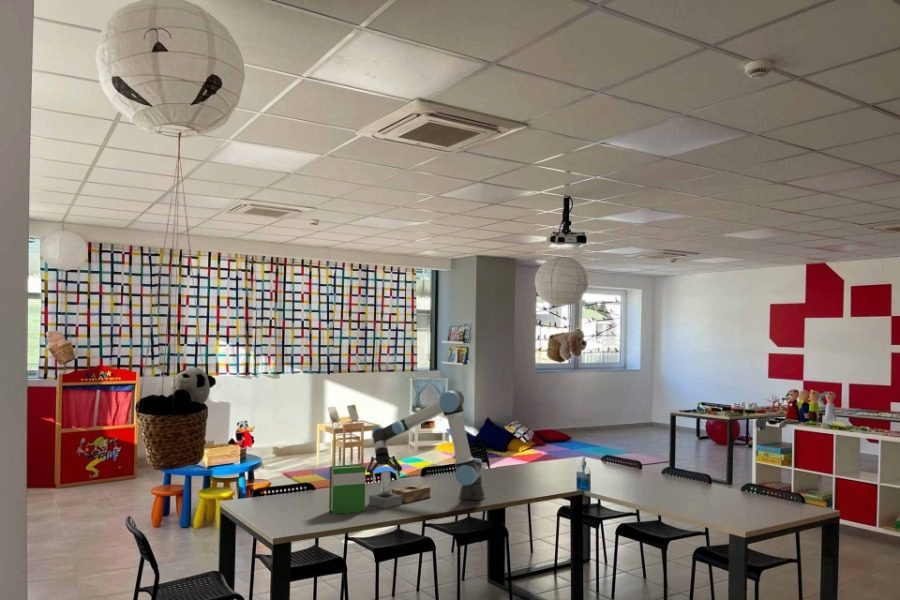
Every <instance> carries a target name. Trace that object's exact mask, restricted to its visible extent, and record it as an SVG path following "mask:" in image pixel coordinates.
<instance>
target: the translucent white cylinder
mask: <svg viewBox="0 0 900 600" xmlns="http://www.w3.org/2000/svg"><path fill="white" fill-rule="evenodd" d="M380 473H381V474H380V476H381V477H380V478H381V479H380V482H381V484H380V493H381V497H384V498H387V497H390V493H391V472H390V471H381V472H380Z"/></svg>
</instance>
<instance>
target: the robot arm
mask: <svg viewBox="0 0 900 600" xmlns="http://www.w3.org/2000/svg"><path fill="white" fill-rule="evenodd" d="M464 397H465V396H464V395H463V393H462V392H461V391H460V390H459V389H458V390H457V389H450V390H448V391H445V392H444V393H442V395H440V398H439V400H438V401H434V403H432V404H430V405H428V406H426V407H424V408H422V409H420V410H418V411H416V412H415V413H412V414H410V415H408V416H406V417H404V418H402V419H400V420H397V421H395V422H393V423H391V424H388V425H386V426H385V427H383V426H381V425H380V426H374V428H373V429H372V431H371V433H372V435H371V436H372V439H373V446H374V455H375V457H373V456H371V458H370V462H369V465H368V466H367V469H366V474H367V473H369V475H370V478H371V479H372V484H376V473H375V470H376V469H377V468H378V466H389V467H390V468H391V469H392V470H394V471H395V477H396V482H397V483H399V482H400V475H401V471H402V470H403V467H402V465H401V464H400V462H399V461H398V460H397V459H396V457H395V455H392V456H390V455H389V450H388V444H387V441H389V440H390V439H393V438H395V437H398V436H400V435H401V434H404V433H406V432H407V431H411V430H412V429H414V428H415V427H417V426H419V425H421V424H424V423H426V422H427V421H429V420H431V419H434V418H436V417H437V416H439V415H441V414H443V416H444V417H445V418H446V419H447V422H448V427H449V432H450V436H451V440H452V444H453V448H454V453H455V457H456V458H455V459H456V460H455V461H454V465H455V479H456V480H457V482H458V483H459V484H460V485H461V487H460V492H459V495H458V496H459V497H458V498H459V499H461V500H465V501H480V500H484V499H485V498H486V494H485V492H484V487H483V459H481V458H476V457H475V458H474V456H472V453H471V450H470V445H469V441H468V436H467V433H466V427H465V423H464V418H463V414H464V407H463V405H464V403H465V398H464ZM375 461H376V462H375ZM374 462H375V464H374V465H373V463H374ZM372 465H373V466H372ZM371 467H372V468H371Z"/></svg>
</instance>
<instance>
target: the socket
mask: <svg viewBox="0 0 900 600" xmlns="http://www.w3.org/2000/svg"><path fill="white" fill-rule="evenodd" d="M368 497H369V498H368V505H369V506H372V505H373V506H372V507H376V506H377V508H380V507H381V508H380V509H384V508H385V509H388V507H390V508H394V507H397V505H398V506H402V505H401V504H402V503H403V502H402V496H401V495H396V494H392V492H390V497H387V498H384V497H381V492H380V493H377V494H370V495H368ZM393 506H394V507H393Z"/></svg>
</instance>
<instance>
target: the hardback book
mask: <svg viewBox="0 0 900 600" xmlns="http://www.w3.org/2000/svg"><path fill="white" fill-rule="evenodd" d="M328 500H329V503H328V504H329V505H328V507H329V509H328V512H329V511H332V512H331V515H332V514H336V515H338V514H337V513H346V514H350V513H349V512H356V513H361V512H360V511H365V512H366V507H365V506H366V466H365V465H363V464H345V465H334V466H329V499H328Z"/></svg>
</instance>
